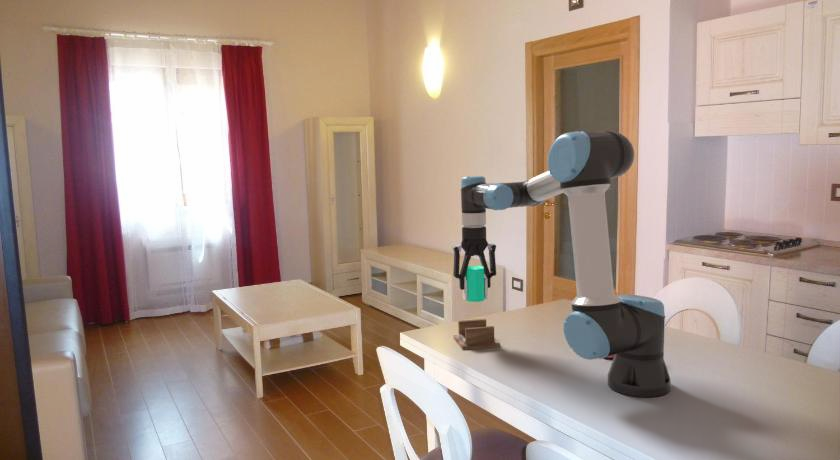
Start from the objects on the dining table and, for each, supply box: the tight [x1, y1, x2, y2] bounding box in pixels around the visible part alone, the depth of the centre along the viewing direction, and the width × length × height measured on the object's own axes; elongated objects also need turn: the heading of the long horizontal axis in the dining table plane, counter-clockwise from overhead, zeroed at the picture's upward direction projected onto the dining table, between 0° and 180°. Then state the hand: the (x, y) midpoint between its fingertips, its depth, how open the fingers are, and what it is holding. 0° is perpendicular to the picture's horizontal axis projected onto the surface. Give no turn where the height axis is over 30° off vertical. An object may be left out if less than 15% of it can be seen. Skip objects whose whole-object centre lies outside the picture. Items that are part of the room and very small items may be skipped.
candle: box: [465, 261, 486, 303], centre depth 195 cm, size 6×6×12 cm
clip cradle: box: [453, 318, 501, 350], centre depth 197 cm, size 12×12×6 cm
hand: (475, 298), depth 195 cm, fingers closed on candle, 6 cm apart
